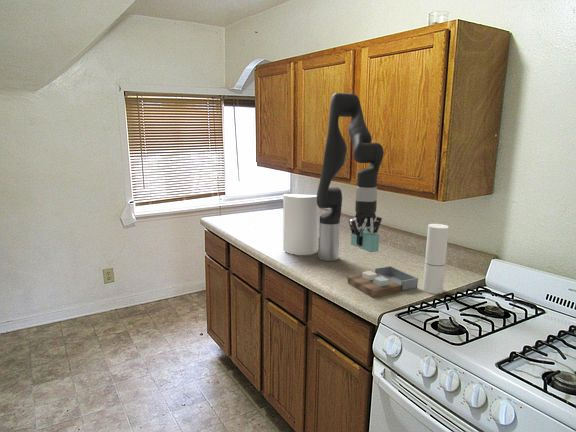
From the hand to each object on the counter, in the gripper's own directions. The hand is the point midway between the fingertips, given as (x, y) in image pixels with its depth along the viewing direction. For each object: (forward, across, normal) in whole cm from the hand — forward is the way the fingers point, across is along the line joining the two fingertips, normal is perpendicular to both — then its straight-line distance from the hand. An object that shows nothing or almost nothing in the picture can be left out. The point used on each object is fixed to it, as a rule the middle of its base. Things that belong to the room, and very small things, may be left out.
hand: (364, 244), depth 153 cm
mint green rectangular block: (+1, 0, 0) cm, 1 cm away
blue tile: (+15, -6, +3) cm, 17 cm away
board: (+18, -6, 0) cm, 18 cm away
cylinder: (+17, -4, -56) cm, 58 cm away
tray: (+18, -16, 0) cm, 24 cm away
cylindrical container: (+18, -24, +12) cm, 32 cm away
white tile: (+15, -6, -4) cm, 17 cm away
